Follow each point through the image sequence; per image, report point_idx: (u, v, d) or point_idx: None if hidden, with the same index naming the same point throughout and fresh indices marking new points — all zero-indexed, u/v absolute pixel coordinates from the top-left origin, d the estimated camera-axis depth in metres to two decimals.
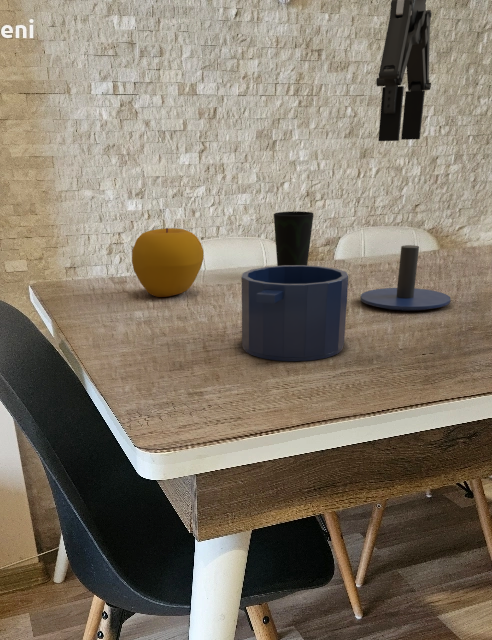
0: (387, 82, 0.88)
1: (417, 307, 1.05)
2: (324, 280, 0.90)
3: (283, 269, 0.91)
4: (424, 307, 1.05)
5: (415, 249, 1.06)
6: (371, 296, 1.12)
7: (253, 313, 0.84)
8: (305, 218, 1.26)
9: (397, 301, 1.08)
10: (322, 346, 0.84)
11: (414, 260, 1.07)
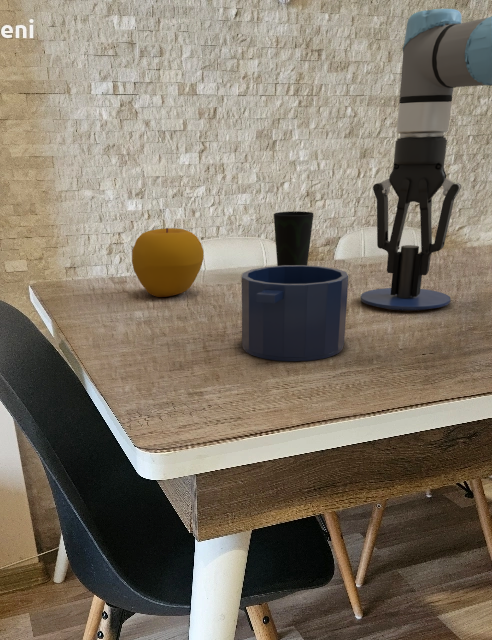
0: None
1: (417, 307, 1.05)
2: (324, 280, 0.90)
3: (283, 269, 0.91)
4: (424, 307, 1.05)
5: (415, 249, 1.06)
6: (371, 296, 1.12)
7: (253, 313, 0.84)
8: (305, 218, 1.26)
9: (397, 301, 1.08)
10: (322, 346, 0.84)
11: (414, 260, 1.07)
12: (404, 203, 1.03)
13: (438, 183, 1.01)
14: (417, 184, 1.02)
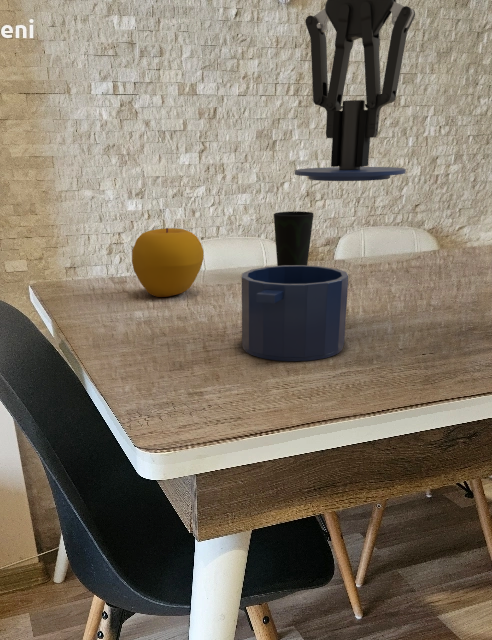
0: None
1: (359, 173, 0.82)
2: (324, 280, 0.90)
3: (283, 269, 0.91)
4: (368, 173, 0.82)
5: (359, 103, 0.84)
6: None
7: (253, 313, 0.84)
8: (305, 218, 1.26)
9: None
10: (322, 346, 0.84)
11: (359, 118, 0.85)
12: (343, 39, 0.81)
13: (385, 7, 0.78)
14: (359, 11, 0.80)
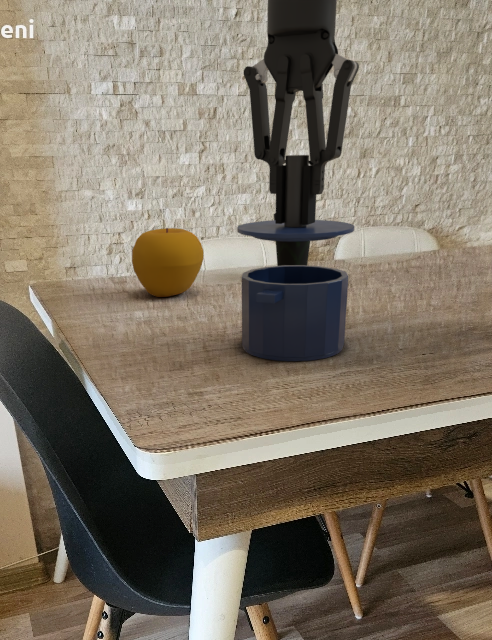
0: None
1: (303, 235, 0.77)
2: (324, 280, 0.90)
3: (283, 269, 0.91)
4: (312, 235, 0.77)
5: (303, 158, 0.79)
6: (251, 226, 0.84)
7: (253, 313, 0.84)
8: None
9: (281, 230, 0.80)
10: (322, 346, 0.84)
11: (302, 174, 0.79)
12: (284, 92, 0.76)
13: (326, 60, 0.73)
14: (299, 63, 0.74)
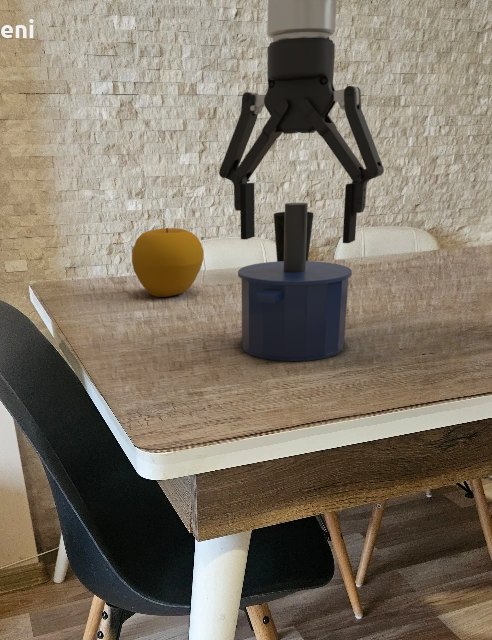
0: None
1: (302, 282, 0.79)
2: None
3: None
4: (311, 282, 0.79)
5: (301, 207, 0.81)
6: (251, 270, 0.86)
7: (253, 313, 0.84)
8: None
9: (280, 275, 0.83)
10: (322, 346, 0.84)
11: (301, 221, 0.82)
12: (271, 130, 0.78)
13: (328, 100, 0.75)
14: (299, 107, 0.76)
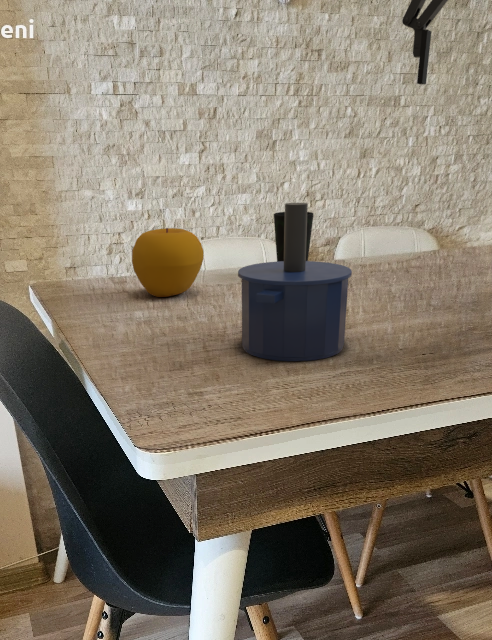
0: None
1: (302, 282, 0.79)
2: None
3: None
4: (311, 282, 0.79)
5: (301, 207, 0.81)
6: (251, 270, 0.86)
7: (253, 313, 0.84)
8: None
9: (280, 275, 0.83)
10: (322, 346, 0.84)
11: (301, 221, 0.82)
12: None
13: None
14: None
